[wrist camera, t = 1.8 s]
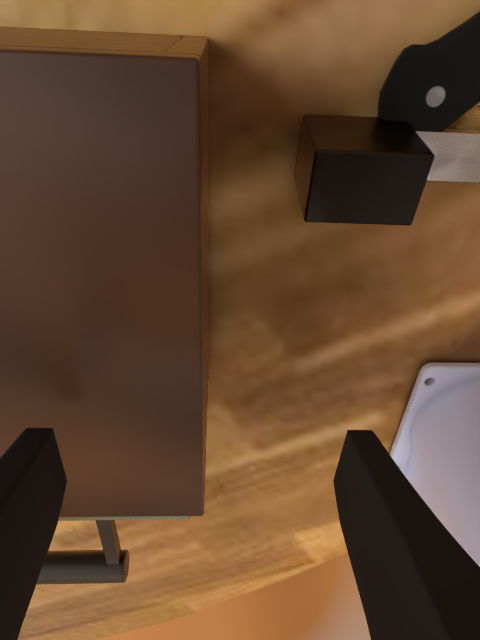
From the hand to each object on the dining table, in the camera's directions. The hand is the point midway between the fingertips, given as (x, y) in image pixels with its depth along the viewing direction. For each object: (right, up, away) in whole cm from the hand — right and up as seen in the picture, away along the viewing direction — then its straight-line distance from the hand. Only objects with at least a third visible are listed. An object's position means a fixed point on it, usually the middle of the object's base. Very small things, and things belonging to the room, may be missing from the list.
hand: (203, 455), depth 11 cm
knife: (+7, +10, +5) cm, 13 cm away
